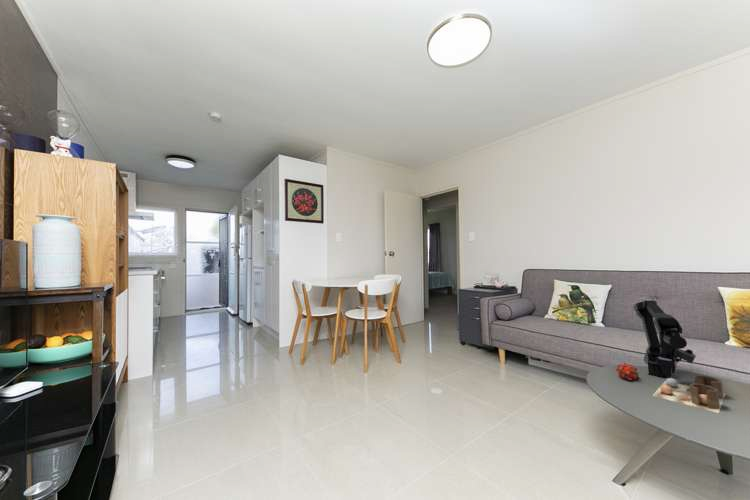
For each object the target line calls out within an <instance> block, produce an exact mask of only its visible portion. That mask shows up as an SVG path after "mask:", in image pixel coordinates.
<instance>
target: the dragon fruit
mask: <svg viewBox="0 0 750 500" xmlns="http://www.w3.org/2000/svg"><path fill="white" fill-rule="evenodd" d="M637 370H638V368H637V367H635V366H633V365H632V364H630V363H626V362H623V363H622V364H618V365H617V368H616V373H617V374H618V376H619V377H620V378H621V379H624V380H627V381H636V380H638V379H640V374H639V372H638V371H637Z"/></svg>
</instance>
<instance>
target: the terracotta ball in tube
mask: <svg viewBox="0 0 750 500" xmlns="http://www.w3.org/2000/svg"><path fill="white" fill-rule="evenodd" d="M699 397H700V402H701V403H702V404H705V405H708V403H707V395H705V394H700V395H699Z"/></svg>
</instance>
